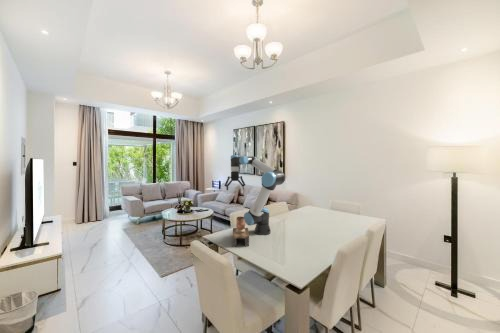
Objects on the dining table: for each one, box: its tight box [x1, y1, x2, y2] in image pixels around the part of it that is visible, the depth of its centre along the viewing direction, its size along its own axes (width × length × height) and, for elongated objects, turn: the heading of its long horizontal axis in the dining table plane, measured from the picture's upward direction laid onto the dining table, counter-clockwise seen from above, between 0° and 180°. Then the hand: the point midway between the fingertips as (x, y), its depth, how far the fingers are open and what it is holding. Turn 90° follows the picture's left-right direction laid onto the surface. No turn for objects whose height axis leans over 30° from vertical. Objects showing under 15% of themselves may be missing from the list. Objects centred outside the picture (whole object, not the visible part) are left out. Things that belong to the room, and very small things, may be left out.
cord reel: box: [235, 216, 246, 233], centre depth 181 cm, size 7×7×12 cm
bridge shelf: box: [232, 227, 250, 247], centre depth 182 cm, size 13×20×8 cm, turn 3°
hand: (235, 193), depth 208 cm, fingers open, 13 cm apart
